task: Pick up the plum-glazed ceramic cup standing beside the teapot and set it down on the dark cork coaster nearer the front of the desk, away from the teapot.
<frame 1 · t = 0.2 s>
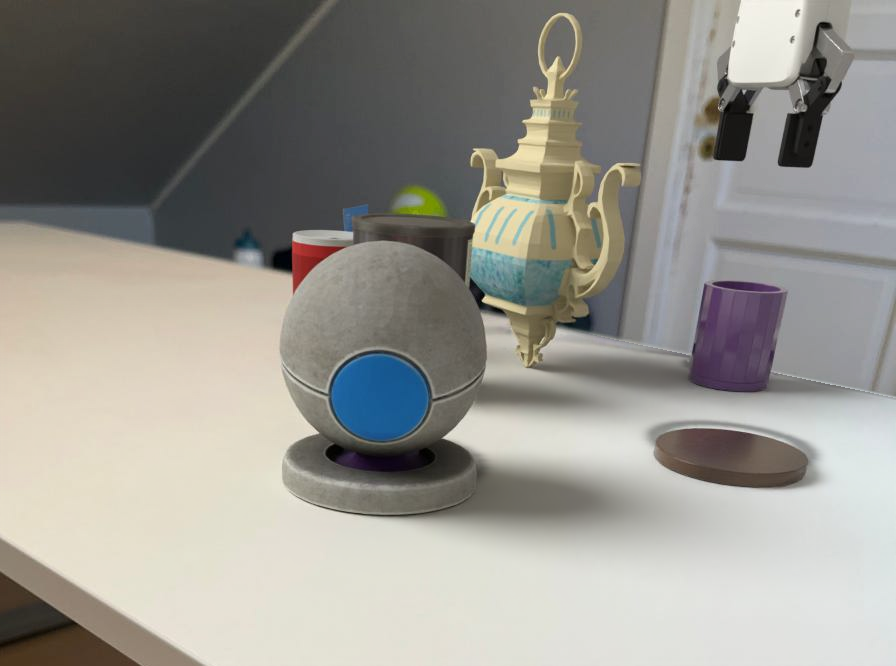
hand: (759, 163, 87), 19 cm above the table, tool pointing down, fingers open, 9 cm apart
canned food: (331, 350, 101), on the table
tape cartridge: (369, 323, 115), on the table
webcam: (379, 484, 65), on the table
coaster: (728, 462, 73), on the table
coffee can: (406, 391, 88), on the table
cup: (727, 382, 96), on the table
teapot: (527, 368, 98), on the table
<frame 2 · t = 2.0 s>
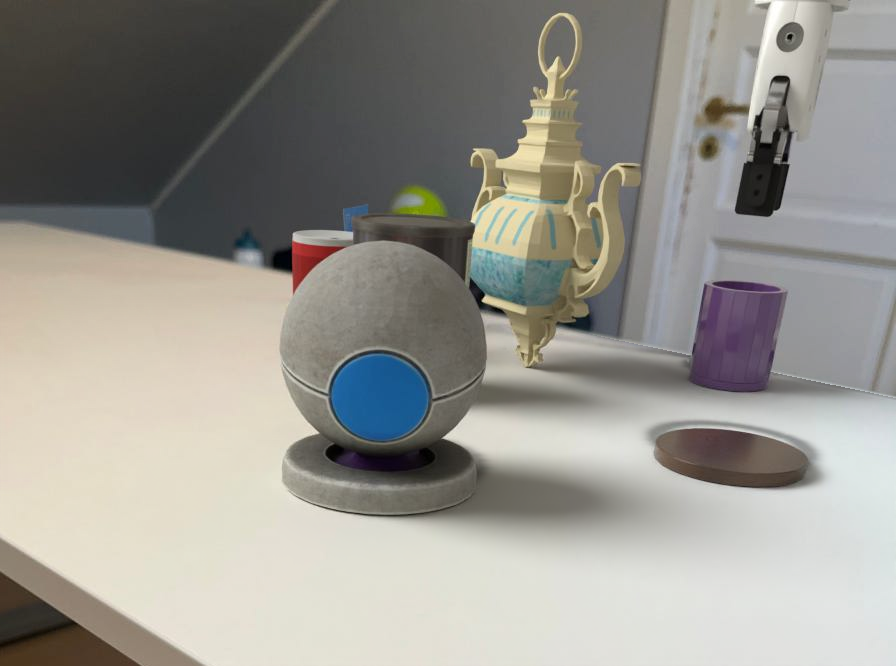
hand: (757, 212, 88), 15 cm above the table, tool pointing down, fingers open, 9 cm apart
nothing on the table moved.
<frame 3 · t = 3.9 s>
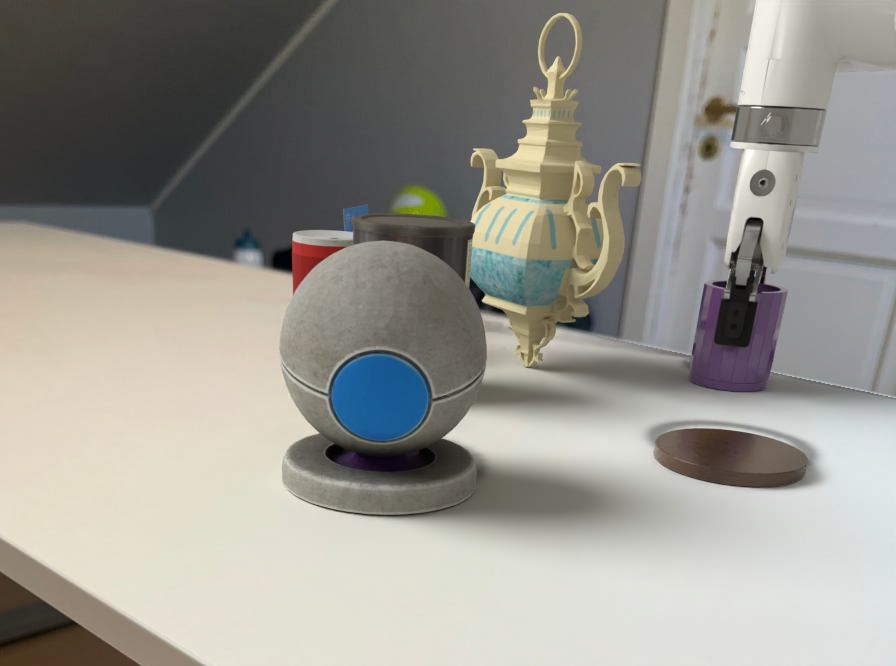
hand: (735, 336, 94), 4 cm above the table, tool pointing down, fingers closed on cup, 7 cm apart
cup: (727, 382, 96), on the table, touching gripper
everything else where it was.
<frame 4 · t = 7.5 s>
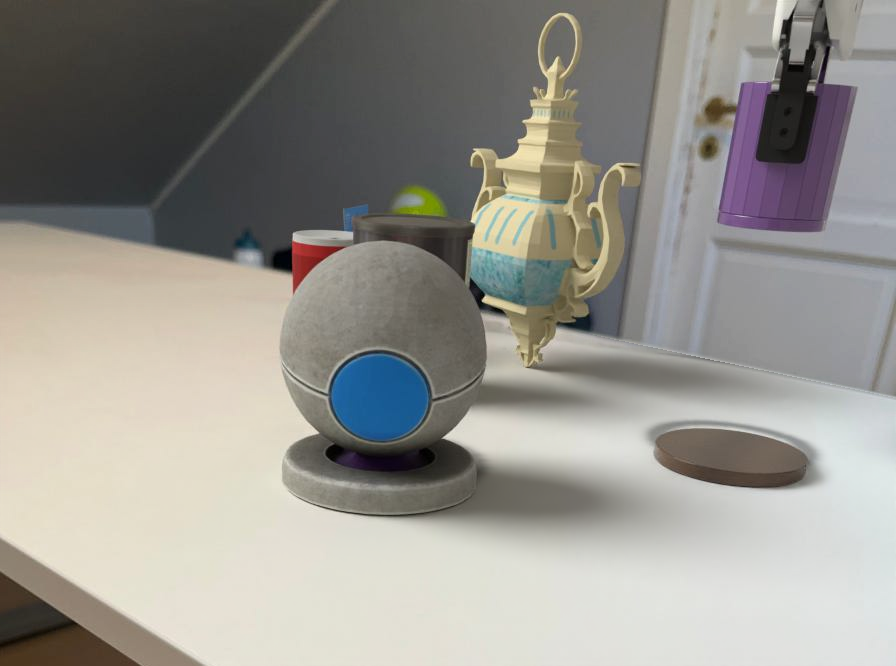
hand: (784, 159, 69), 20 cm above the table, tool pointing down, fingers closed on cup, 7 cm apart
cup: (770, 226, 71), point 16 cm above the table, touching gripper
everything else where it was.
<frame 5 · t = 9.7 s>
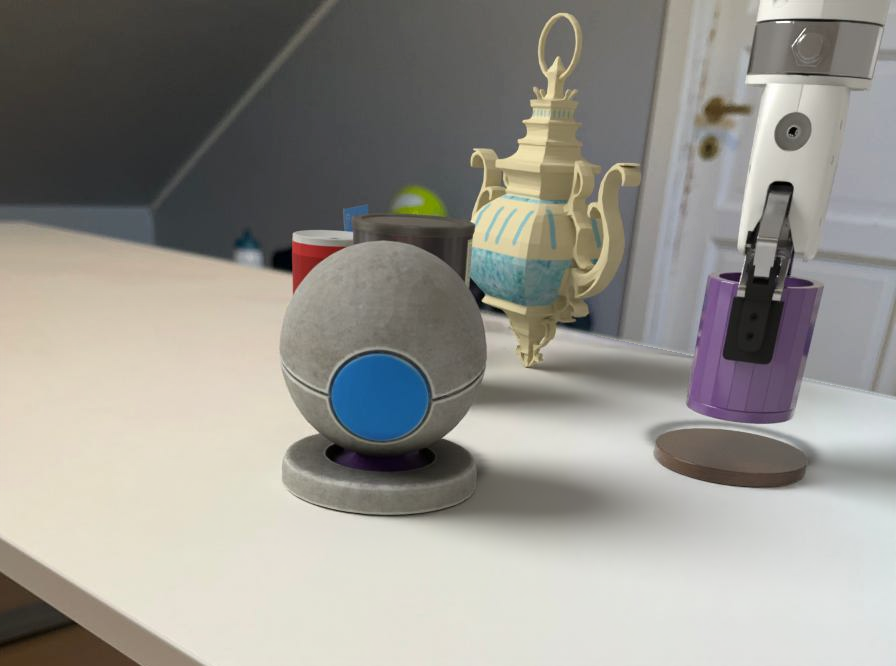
hand: (752, 348, 69), 8 cm above the table, tool pointing down, fingers closed on cup, 7 cm apart
cup: (738, 409, 71), point 4 cm above the table, touching gripper
everything else where it was.
when the fingers open (5 cm above the table, at t = 11.4 s): cup stays where it is, resting on coaster.
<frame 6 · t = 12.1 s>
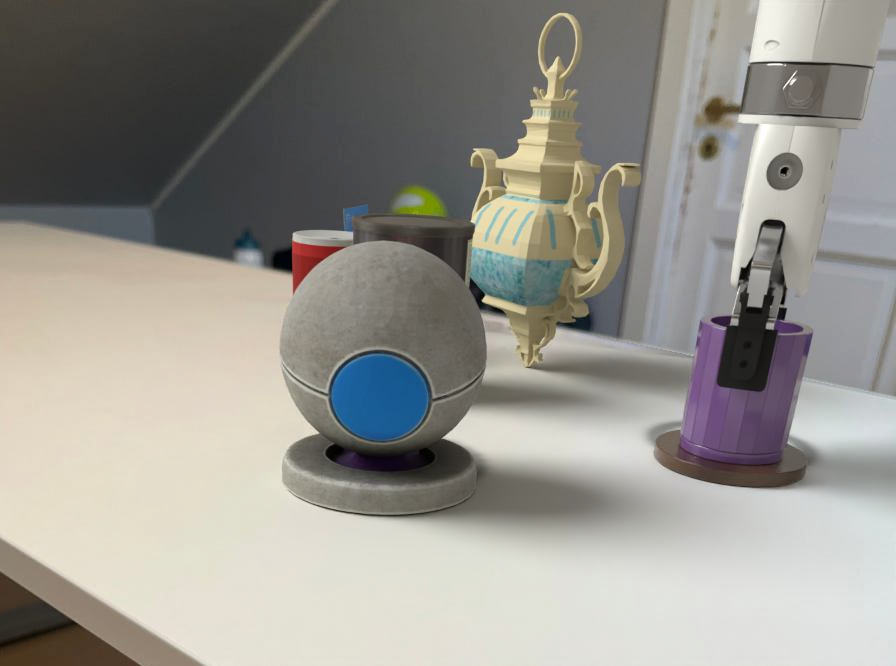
hand: (746, 373, 70), 7 cm above the table, tool pointing down, fingers open, 9 cm apart
cup: (730, 449, 72), point 1 cm above the table, touching coaster
everything else where it was.
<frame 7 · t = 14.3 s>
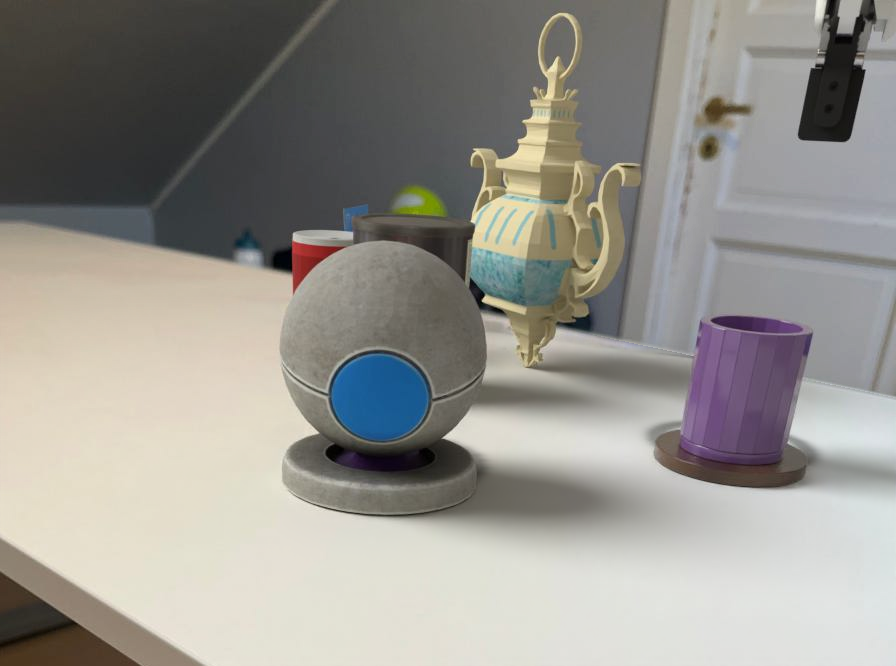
hand: (824, 139, 66), 22 cm above the table, tool pointing down, fingers open, 9 cm apart
nothing on the table moved.
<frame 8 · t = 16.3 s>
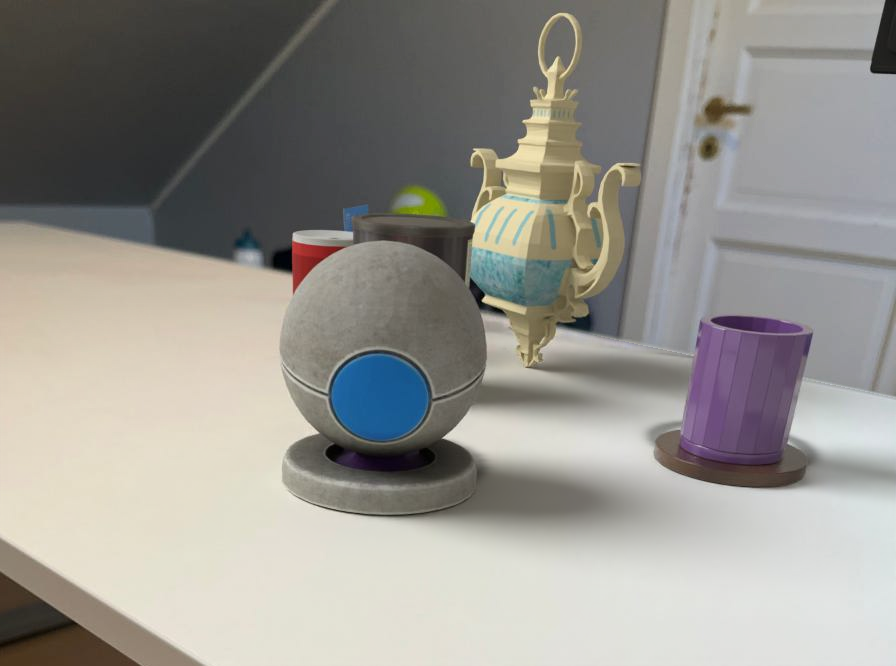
hand: (892, 70, 72), 26 cm above the table, tool pointing down, fingers open, 9 cm apart
nothing on the table moved.
at the end: cup 0.0 cm off-centre on the coaster, point 1.0 cm above the coaster's base; cup tilted 0°; cup touching coaster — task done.
